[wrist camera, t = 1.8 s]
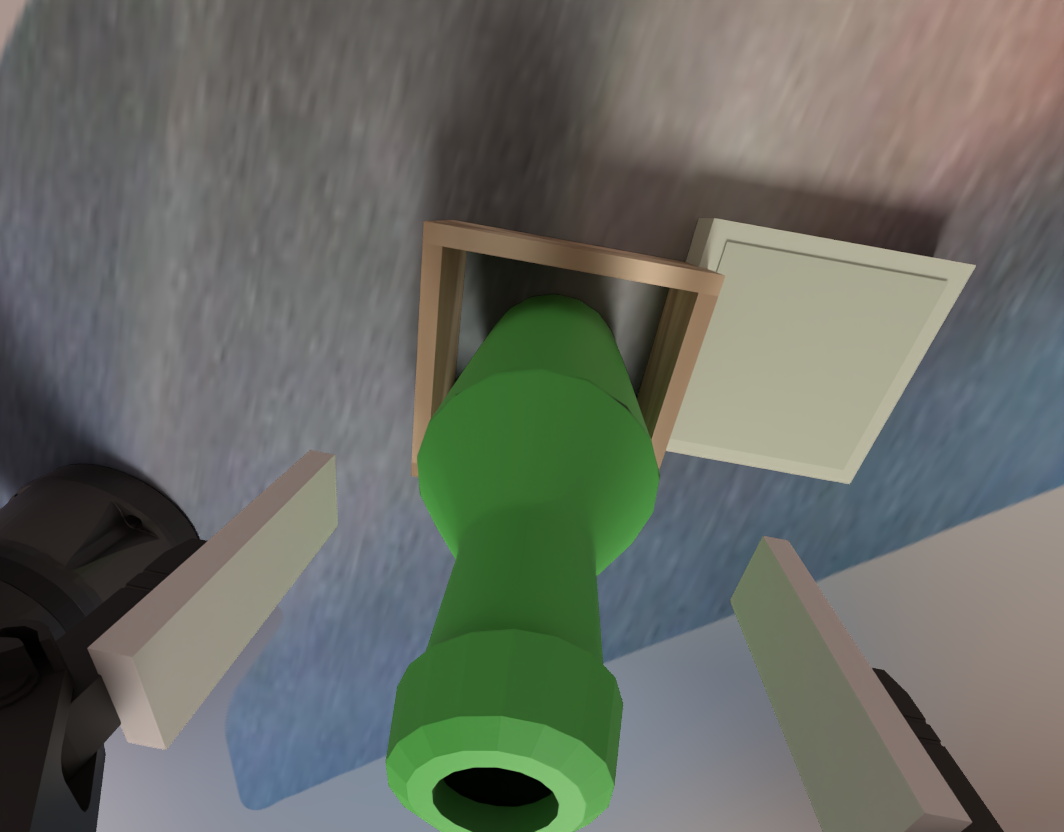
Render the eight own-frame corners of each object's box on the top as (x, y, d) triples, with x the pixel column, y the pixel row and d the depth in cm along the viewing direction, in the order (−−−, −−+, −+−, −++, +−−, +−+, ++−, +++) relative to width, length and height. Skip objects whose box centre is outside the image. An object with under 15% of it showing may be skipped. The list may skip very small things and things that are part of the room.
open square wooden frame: (437, 432, 33) (411, 475, 28) (453, 219, 27) (423, 221, 21) (630, 468, 33) (642, 517, 28) (693, 263, 27) (725, 275, 21)
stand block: (636, 426, 31) (642, 447, 29) (698, 217, 25) (715, 218, 23) (825, 460, 31) (851, 485, 29) (932, 260, 25) (978, 265, 23)
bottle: (549, 262, 27) (451, 491, 5) (643, 354, 29) (899, 831, 7) (463, 359, 30) (154, 781, 8) (553, 437, 32) (516, 951, 10)
